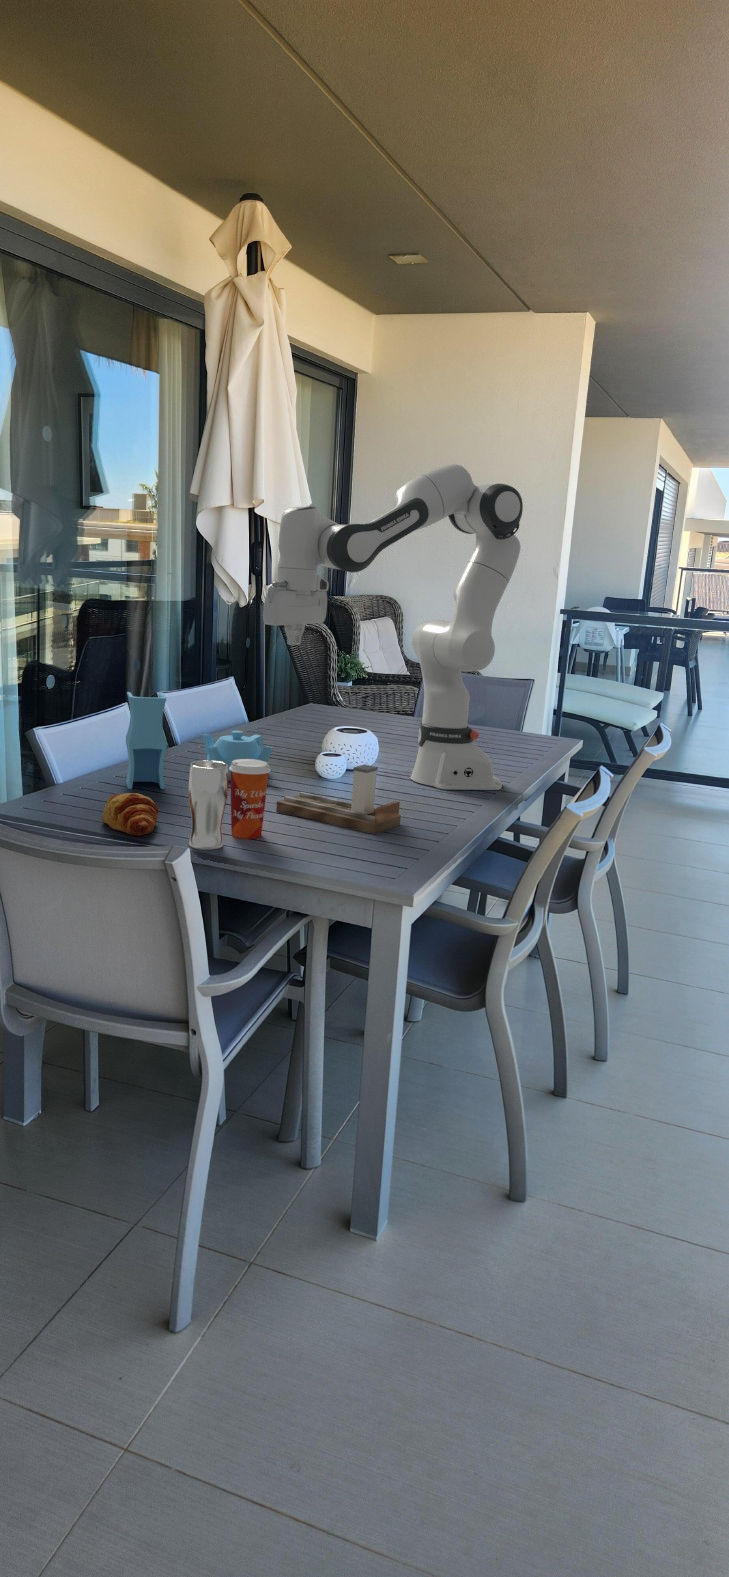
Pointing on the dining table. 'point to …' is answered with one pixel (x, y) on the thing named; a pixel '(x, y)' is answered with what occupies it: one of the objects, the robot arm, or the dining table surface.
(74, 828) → the dining table surface
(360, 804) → the fader knob
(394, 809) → the brown wooden tray
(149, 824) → the croissant
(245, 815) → the paper cup
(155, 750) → the vase
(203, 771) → the beer glass
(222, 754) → the teapot
